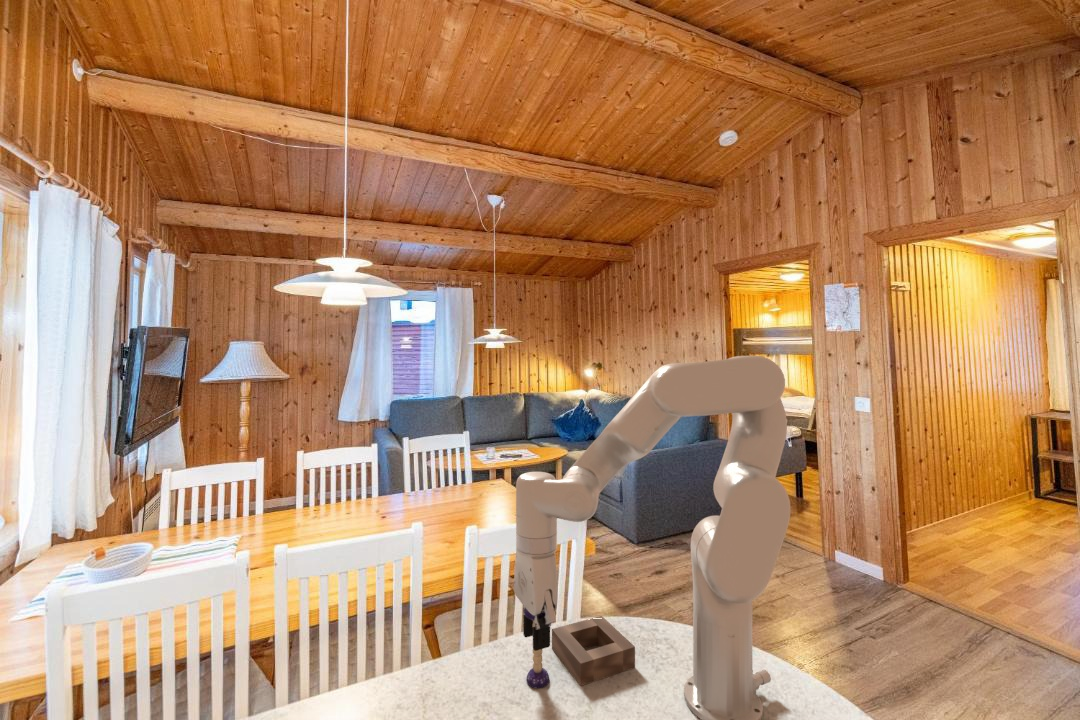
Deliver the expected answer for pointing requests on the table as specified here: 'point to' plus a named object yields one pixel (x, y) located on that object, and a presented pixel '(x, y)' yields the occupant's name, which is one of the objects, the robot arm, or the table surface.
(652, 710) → the table surface
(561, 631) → the socket block
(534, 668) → the toy lamp
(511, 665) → the table surface
